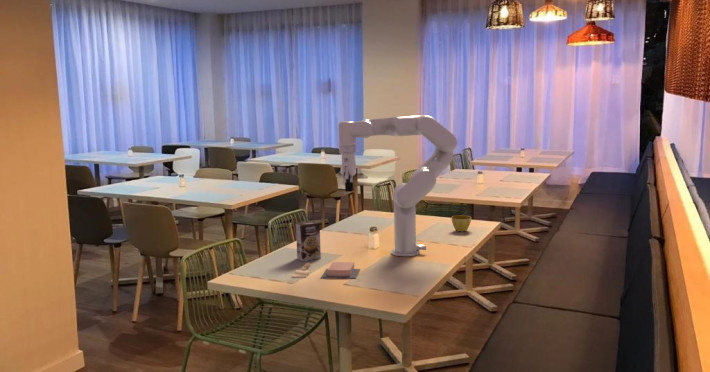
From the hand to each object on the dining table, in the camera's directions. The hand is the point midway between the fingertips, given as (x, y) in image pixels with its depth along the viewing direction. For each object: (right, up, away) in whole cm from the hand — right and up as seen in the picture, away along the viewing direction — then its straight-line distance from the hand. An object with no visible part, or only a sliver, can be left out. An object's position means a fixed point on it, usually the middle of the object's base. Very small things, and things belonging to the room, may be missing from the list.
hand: (349, 191), depth 264 cm
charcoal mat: (-3, -33, -23) cm, 40 cm away
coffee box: (-18, -30, +1) cm, 35 cm away
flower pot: (+57, -21, +44) cm, 75 cm away
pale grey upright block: (-2, -30, -16) cm, 35 cm away
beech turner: (-19, -33, -19) cm, 42 cm away
